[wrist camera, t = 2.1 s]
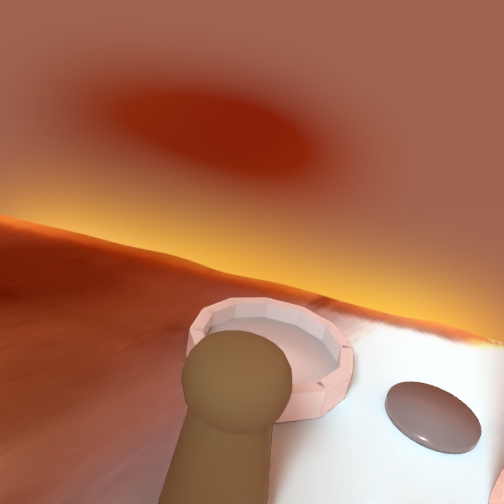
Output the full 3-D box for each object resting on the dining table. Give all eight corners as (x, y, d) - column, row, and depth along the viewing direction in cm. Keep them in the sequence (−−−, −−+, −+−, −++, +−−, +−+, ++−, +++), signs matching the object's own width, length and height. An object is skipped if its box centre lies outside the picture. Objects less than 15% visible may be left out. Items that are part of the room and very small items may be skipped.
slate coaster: (368, 411, 36) (370, 405, 36) (408, 376, 41) (410, 370, 41) (459, 470, 32) (462, 464, 32) (490, 423, 37) (493, 417, 37)
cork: (241, 460, 30) (273, 309, 26) (284, 550, 25) (333, 382, 21) (144, 481, 27) (162, 317, 23) (171, 587, 23) (200, 403, 18)
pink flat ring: (155, 351, 39) (157, 325, 38) (260, 307, 48) (264, 285, 47) (278, 450, 31) (285, 421, 30) (374, 375, 41) (382, 350, 40)
